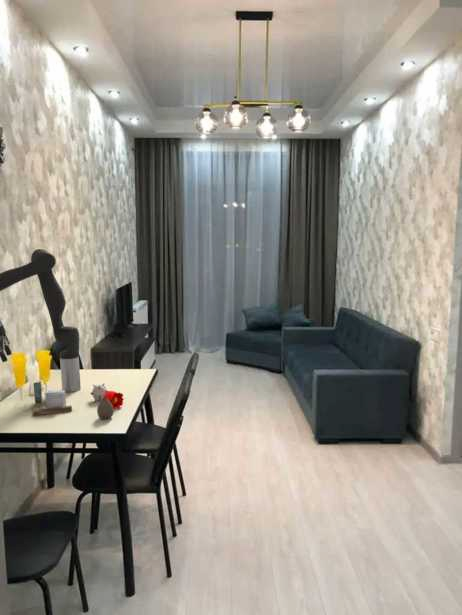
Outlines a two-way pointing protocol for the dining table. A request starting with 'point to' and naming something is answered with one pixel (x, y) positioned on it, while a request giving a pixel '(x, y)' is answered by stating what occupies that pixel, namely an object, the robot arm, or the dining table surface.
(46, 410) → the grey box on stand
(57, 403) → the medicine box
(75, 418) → the dining table surface
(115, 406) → the flower
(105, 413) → the grey rounded lump
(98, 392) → the grey spiky ball
